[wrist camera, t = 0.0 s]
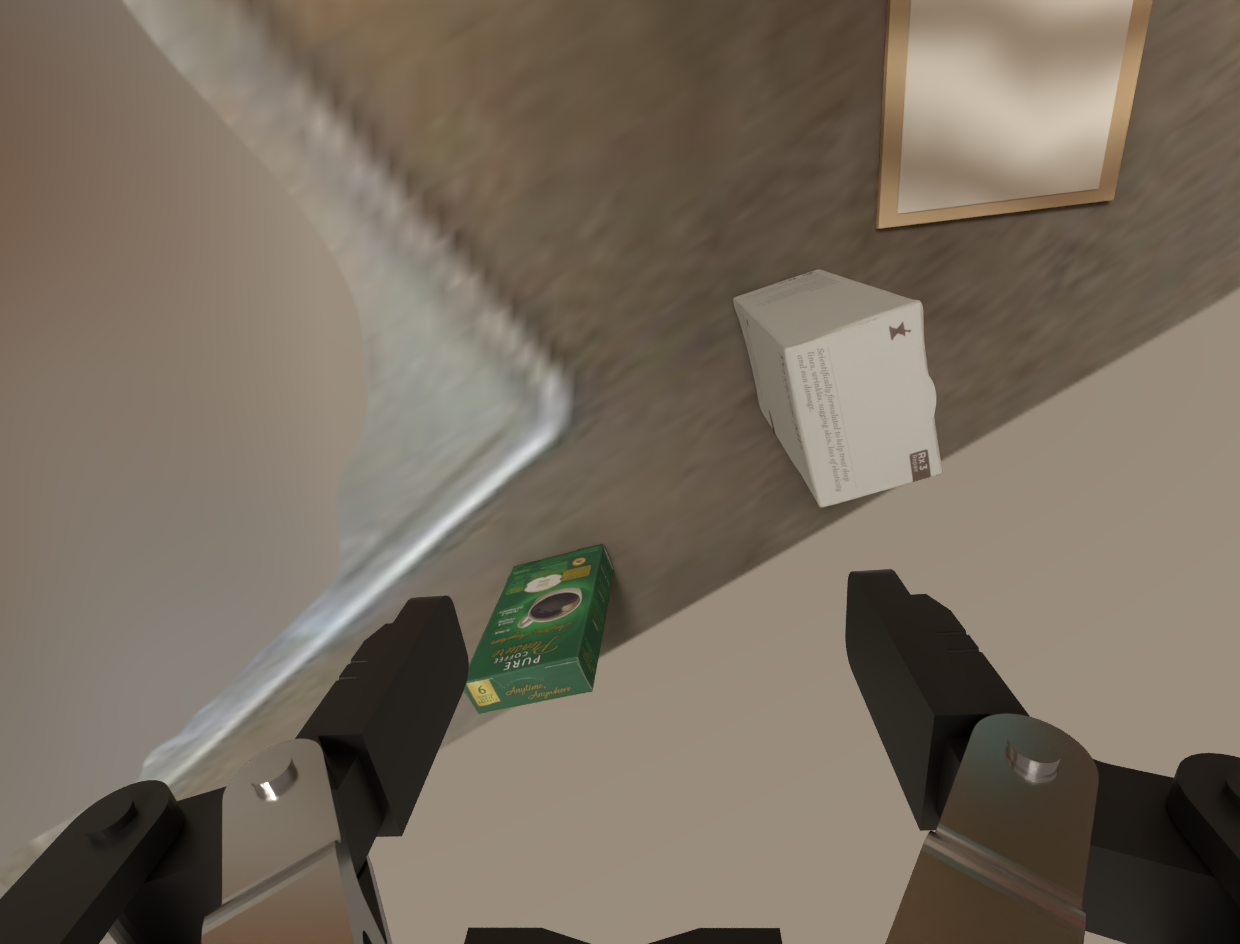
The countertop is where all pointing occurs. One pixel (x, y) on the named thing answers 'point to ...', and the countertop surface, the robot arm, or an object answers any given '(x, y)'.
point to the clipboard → (1004, 105)
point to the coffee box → (543, 632)
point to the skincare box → (843, 382)
